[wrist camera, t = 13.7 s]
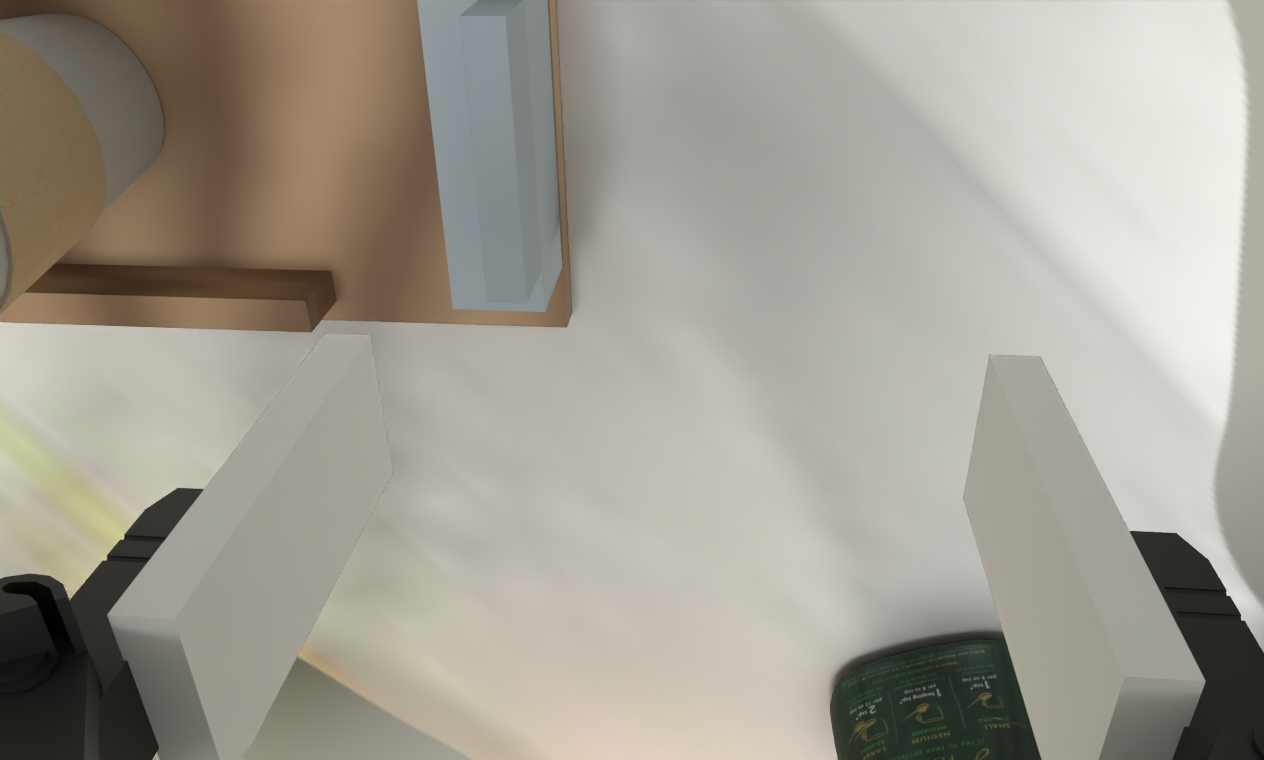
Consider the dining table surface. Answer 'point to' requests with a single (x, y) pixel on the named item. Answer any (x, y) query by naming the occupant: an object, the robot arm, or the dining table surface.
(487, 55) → the block
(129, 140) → the coffee cup
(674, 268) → the dining table surface
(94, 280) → the housing base
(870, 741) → the coffee jar
